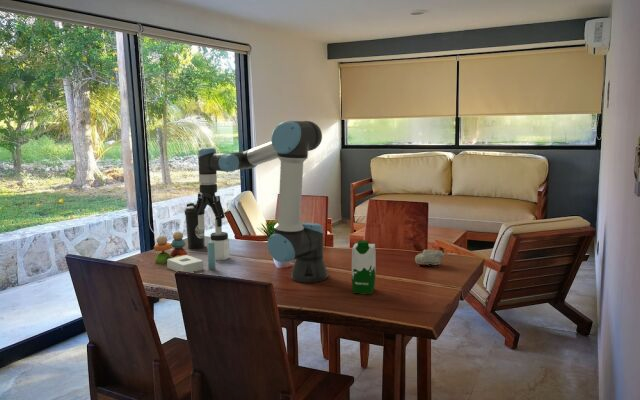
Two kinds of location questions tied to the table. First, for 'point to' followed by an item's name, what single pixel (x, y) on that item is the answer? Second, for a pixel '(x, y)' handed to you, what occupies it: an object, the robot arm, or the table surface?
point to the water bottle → (194, 228)
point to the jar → (220, 245)
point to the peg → (211, 255)
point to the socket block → (185, 264)
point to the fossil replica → (429, 257)
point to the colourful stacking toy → (163, 246)
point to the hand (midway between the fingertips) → (209, 231)
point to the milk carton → (363, 267)
